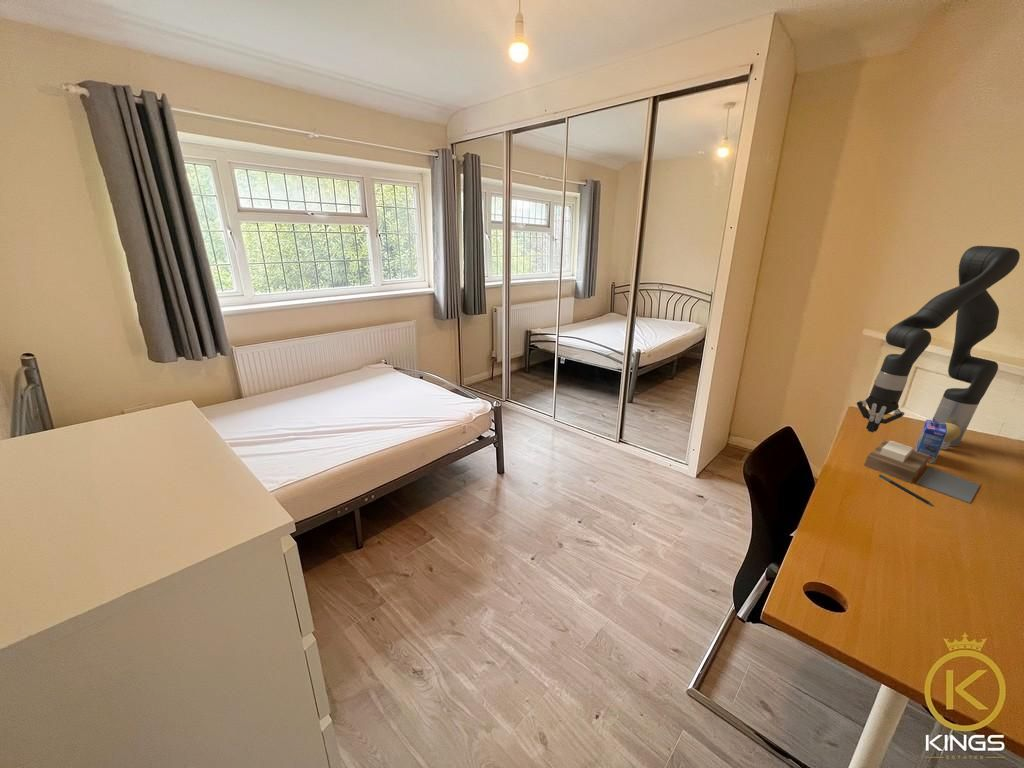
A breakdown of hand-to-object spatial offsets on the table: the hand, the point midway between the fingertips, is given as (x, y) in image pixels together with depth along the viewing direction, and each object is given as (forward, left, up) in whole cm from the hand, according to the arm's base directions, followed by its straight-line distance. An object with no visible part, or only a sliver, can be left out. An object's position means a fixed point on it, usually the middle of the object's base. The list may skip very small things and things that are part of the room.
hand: (870, 431), depth 141 cm
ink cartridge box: (-17, +13, -10) cm, 24 cm away
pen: (+15, +15, -10) cm, 24 cm away
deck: (0, +9, -9) cm, 13 cm away
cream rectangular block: (0, +8, -4) cm, 9 cm away
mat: (0, +22, -9) cm, 24 cm away
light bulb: (-30, +15, -10) cm, 35 cm away
